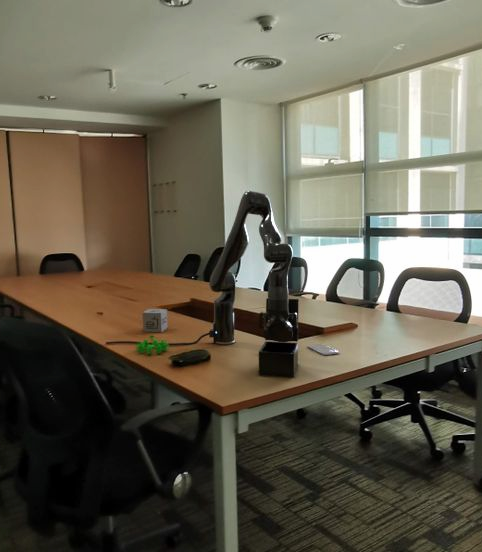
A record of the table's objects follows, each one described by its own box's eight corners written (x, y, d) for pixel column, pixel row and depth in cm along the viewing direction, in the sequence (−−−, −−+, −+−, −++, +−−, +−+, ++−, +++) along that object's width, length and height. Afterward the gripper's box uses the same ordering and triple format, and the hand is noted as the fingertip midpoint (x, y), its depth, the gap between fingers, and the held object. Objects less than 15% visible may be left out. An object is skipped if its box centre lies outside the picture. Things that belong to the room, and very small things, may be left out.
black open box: (293, 377, 178) (293, 353, 177) (258, 375, 181) (258, 351, 180) (297, 364, 193) (297, 342, 192) (265, 362, 196) (265, 341, 195)
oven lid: (298, 299, 193) (299, 300, 198) (266, 298, 197) (268, 299, 202) (297, 341, 191) (298, 341, 197) (265, 340, 195) (267, 340, 200)
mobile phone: (322, 342, 221) (339, 351, 206) (322, 344, 221) (339, 353, 207) (306, 344, 219) (323, 353, 204) (306, 346, 219) (323, 355, 204)
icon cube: (161, 332, 253) (160, 313, 252) (143, 331, 255) (142, 312, 254) (167, 327, 263) (166, 309, 261) (149, 327, 265) (149, 309, 264)
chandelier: (145, 358, 207) (145, 341, 206) (129, 350, 219) (128, 335, 218) (175, 351, 216) (175, 336, 215) (158, 344, 228) (158, 330, 227)
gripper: (298, 296, 184) (298, 338, 186) (260, 295, 188) (261, 336, 190) (296, 299, 177) (296, 343, 179) (257, 298, 181) (257, 341, 183)
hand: (278, 339), depth 185 cm, fingers open, 8 cm apart
